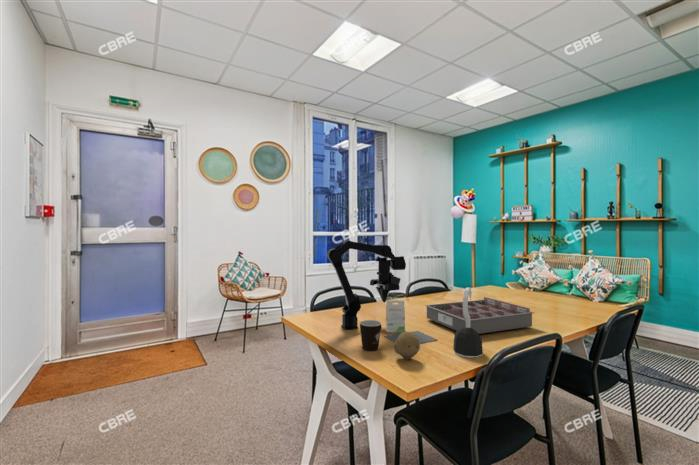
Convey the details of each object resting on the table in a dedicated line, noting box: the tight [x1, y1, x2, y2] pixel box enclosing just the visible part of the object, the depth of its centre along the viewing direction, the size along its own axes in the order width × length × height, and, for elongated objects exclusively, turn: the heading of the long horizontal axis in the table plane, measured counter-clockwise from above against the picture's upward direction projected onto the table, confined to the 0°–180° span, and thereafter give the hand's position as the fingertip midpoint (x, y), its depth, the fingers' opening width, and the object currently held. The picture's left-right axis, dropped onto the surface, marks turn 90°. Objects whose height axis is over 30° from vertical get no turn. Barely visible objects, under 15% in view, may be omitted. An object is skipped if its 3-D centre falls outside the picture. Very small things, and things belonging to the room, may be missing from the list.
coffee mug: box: [359, 319, 382, 352], centre depth 133 cm, size 12×9×10 cm
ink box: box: [385, 299, 406, 334], centre depth 155 cm, size 9×5×15 cm, turn 84°
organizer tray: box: [424, 296, 535, 335], centre depth 167 cm, size 32×40×10 cm
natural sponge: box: [393, 331, 421, 360], centre depth 121 cm, size 9×9×10 cm
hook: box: [452, 287, 484, 358], centre depth 128 cm, size 11×11×25 cm
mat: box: [383, 330, 438, 344], centre depth 145 cm, size 18×14×1 cm
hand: (384, 302), depth 164 cm, fingers closed
